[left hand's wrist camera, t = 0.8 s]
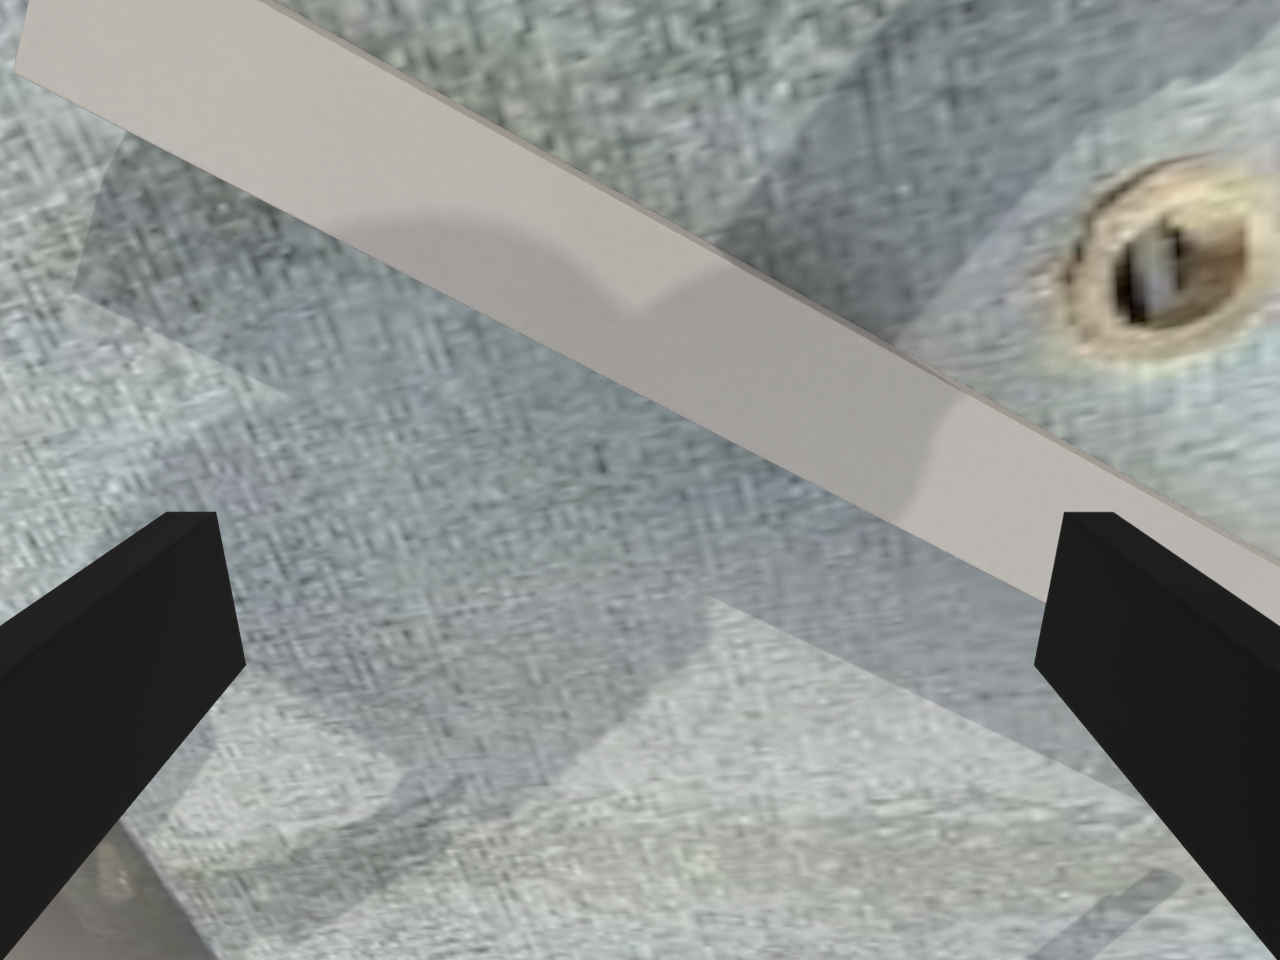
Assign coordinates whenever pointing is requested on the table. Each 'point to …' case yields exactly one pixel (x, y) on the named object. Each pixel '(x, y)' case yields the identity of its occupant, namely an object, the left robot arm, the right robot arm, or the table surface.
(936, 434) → the beam
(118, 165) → the table surface
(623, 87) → the table surface
